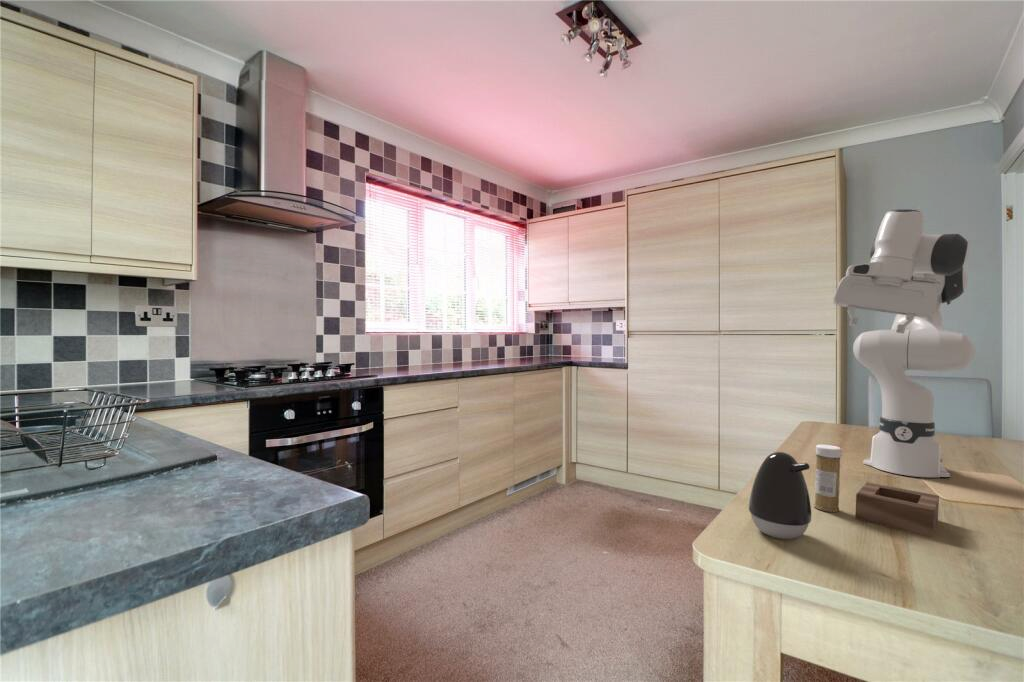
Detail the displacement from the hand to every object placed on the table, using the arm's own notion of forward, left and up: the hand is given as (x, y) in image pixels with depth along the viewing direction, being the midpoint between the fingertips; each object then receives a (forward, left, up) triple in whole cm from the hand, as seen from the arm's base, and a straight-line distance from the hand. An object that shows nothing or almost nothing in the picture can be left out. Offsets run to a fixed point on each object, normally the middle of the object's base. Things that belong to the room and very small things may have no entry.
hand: (875, 328), depth 120 cm
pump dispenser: (+48, -7, -39) cm, 62 cm away
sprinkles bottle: (+26, -4, -39) cm, 47 cm away
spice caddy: (+22, +8, -39) cm, 45 cm away
